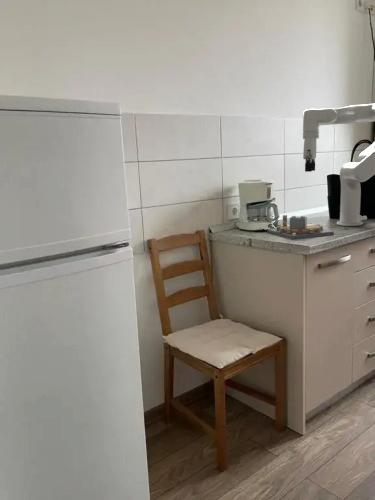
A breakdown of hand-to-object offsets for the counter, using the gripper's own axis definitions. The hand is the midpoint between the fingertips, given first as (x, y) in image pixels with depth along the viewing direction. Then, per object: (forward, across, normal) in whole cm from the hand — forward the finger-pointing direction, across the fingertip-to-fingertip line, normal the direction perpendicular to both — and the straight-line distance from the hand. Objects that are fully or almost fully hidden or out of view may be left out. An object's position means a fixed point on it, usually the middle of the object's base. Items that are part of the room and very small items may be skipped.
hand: (310, 171), depth 214 cm
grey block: (+25, +24, -1) cm, 35 cm away
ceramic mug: (+29, +11, -17) cm, 35 cm away
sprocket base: (+28, +18, -1) cm, 34 cm away
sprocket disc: (+26, +18, -1) cm, 32 cm away
